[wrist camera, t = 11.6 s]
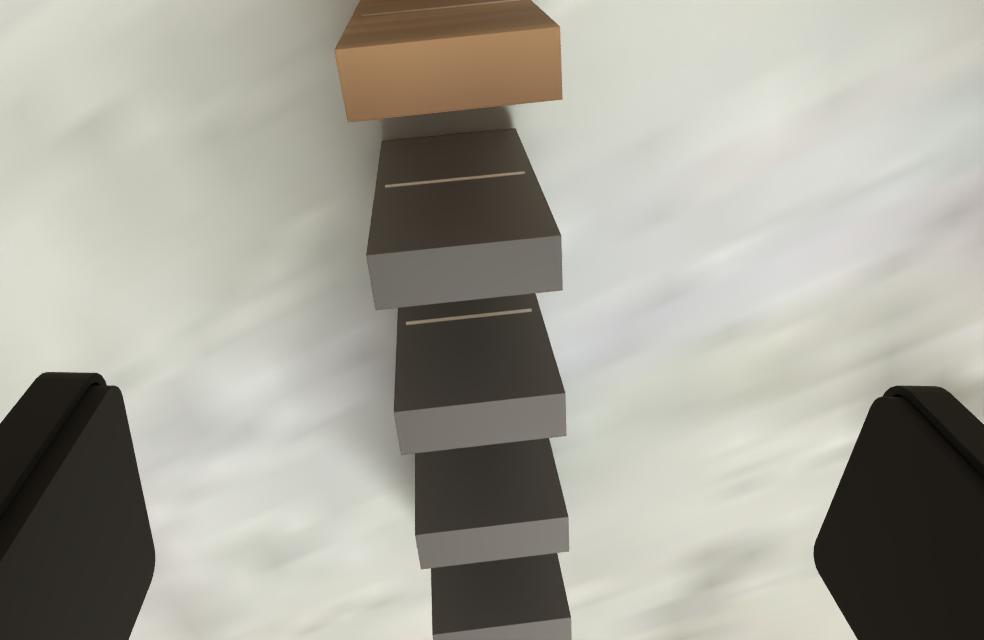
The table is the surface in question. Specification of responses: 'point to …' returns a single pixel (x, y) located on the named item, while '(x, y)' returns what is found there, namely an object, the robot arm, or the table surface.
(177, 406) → the table surface
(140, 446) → the table surface
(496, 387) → the domino
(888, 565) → the robot arm
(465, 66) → the domino
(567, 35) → the table surface
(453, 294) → the domino
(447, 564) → the domino
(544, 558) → the domino
